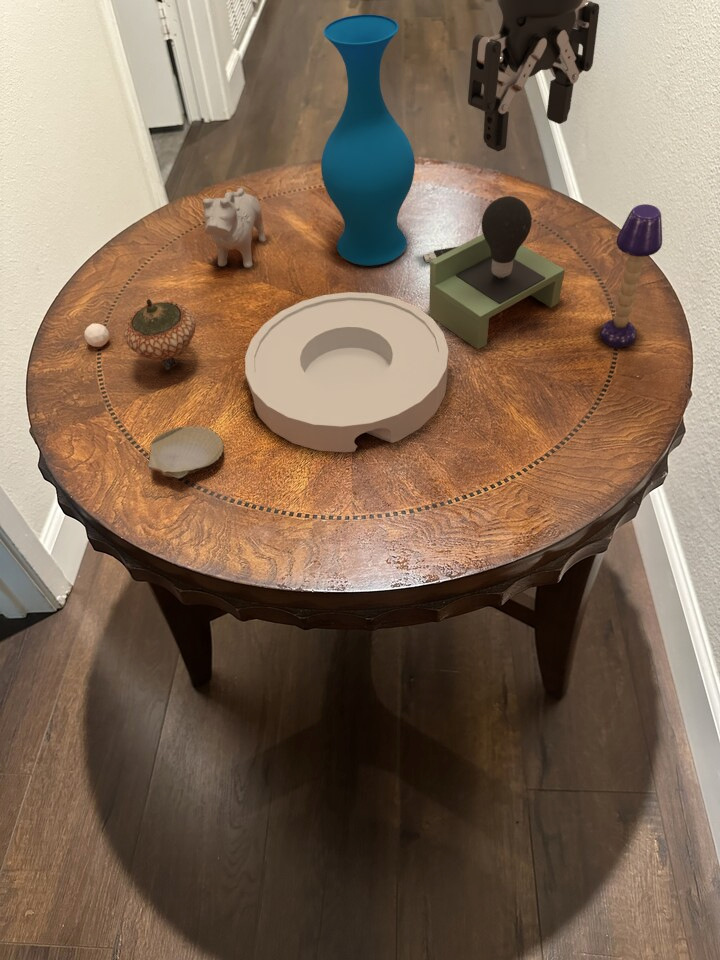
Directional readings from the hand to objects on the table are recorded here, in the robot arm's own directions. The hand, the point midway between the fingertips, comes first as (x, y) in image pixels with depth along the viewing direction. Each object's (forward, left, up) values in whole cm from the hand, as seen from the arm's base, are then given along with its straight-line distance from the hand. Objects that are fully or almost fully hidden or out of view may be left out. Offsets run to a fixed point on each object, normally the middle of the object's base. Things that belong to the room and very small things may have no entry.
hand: (526, 134), depth 75 cm
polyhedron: (+41, -30, -24) cm, 56 cm away
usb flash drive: (-4, -15, -24) cm, 28 cm away
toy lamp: (-8, +11, -24) cm, 27 cm away
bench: (-1, -3, -23) cm, 23 cm away
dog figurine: (+17, -35, -24) cm, 46 cm away
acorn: (+36, -20, -24) cm, 48 cm away
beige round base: (+21, -4, -24) cm, 32 cm away
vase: (+2, -24, -24) cm, 34 cm away
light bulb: (-1, -2, -18) cm, 18 cm away
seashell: (+42, -5, -24) cm, 49 cm away
